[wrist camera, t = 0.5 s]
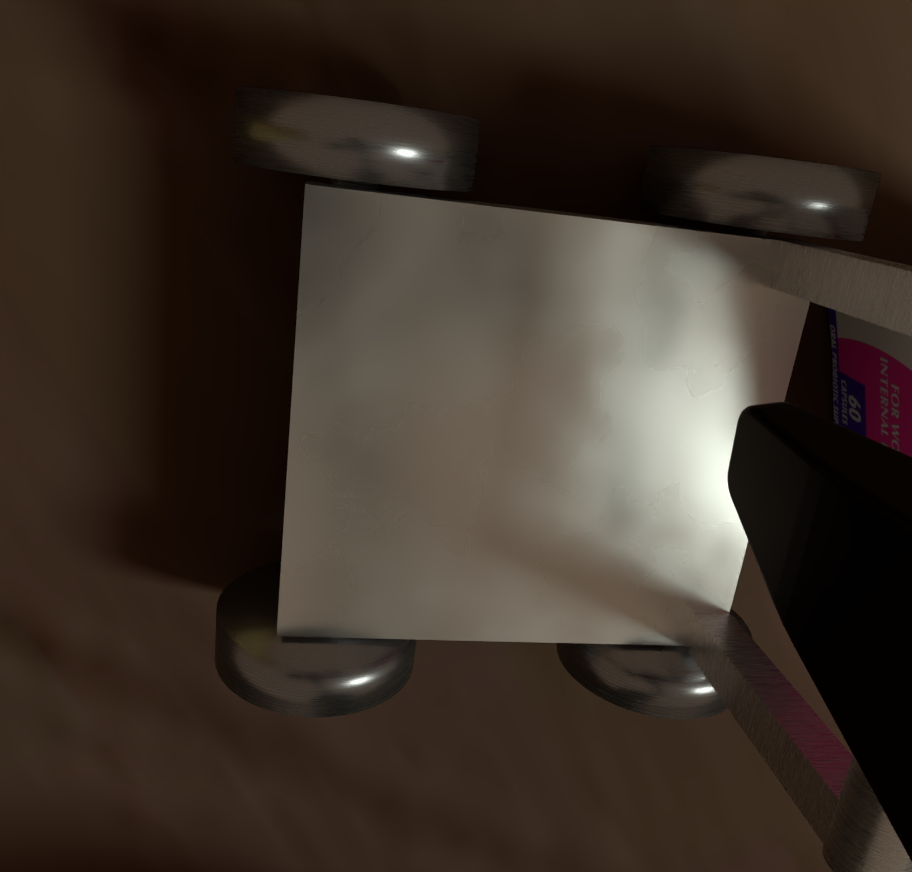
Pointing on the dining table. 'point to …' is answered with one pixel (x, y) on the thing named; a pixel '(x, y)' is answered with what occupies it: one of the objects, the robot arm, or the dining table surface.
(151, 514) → the dining table surface
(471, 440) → the trolley
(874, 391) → the supplement box
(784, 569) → the robot arm
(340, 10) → the dining table surface
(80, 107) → the dining table surface
